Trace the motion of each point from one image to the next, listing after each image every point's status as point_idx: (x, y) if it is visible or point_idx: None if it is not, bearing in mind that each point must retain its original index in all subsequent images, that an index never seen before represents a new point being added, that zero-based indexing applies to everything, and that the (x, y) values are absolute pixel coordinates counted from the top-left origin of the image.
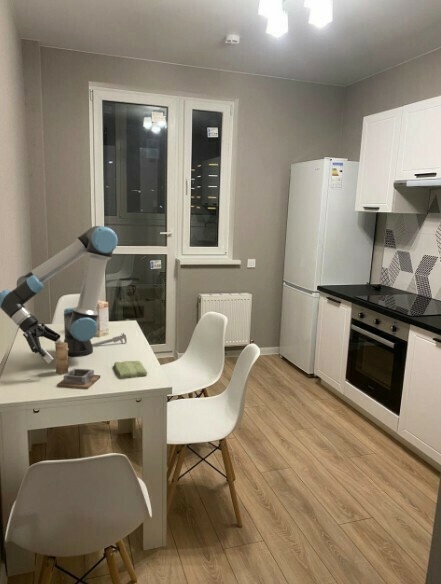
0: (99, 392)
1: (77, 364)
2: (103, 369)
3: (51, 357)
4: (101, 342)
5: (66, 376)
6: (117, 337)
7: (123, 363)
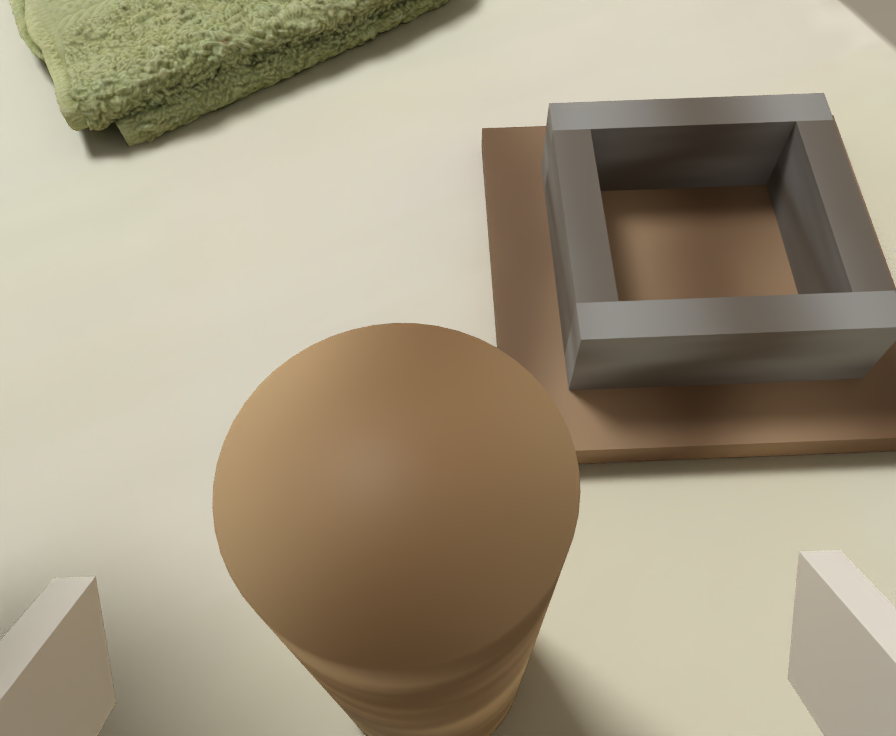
0: (837, 30)
1: None
2: (220, 209)
3: (854, 576)
4: None
5: (892, 291)
6: None
7: (129, 15)
